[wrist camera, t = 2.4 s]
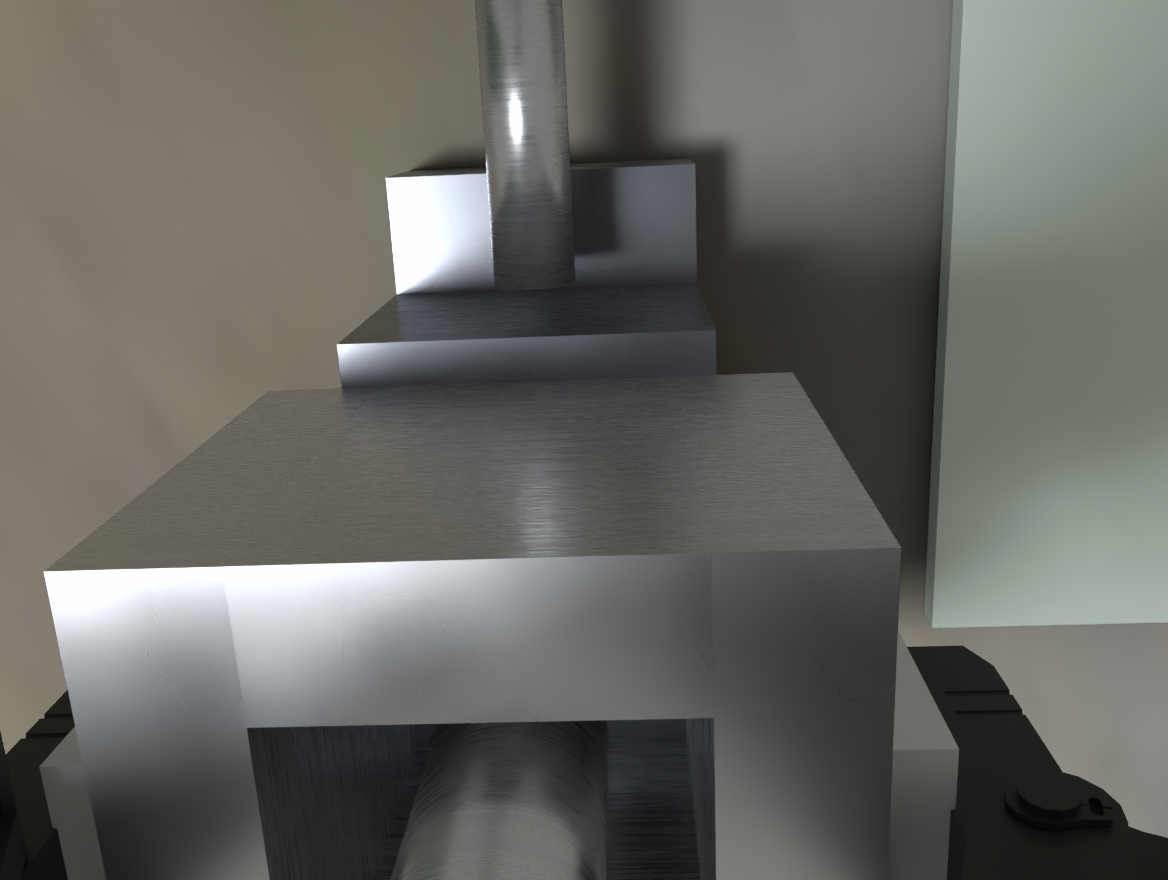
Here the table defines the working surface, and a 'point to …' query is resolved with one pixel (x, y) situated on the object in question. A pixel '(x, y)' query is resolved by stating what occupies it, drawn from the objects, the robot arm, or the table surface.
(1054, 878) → the robot arm
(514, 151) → the vise
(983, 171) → the mat
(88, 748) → the grey hollow block
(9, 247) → the table surface
